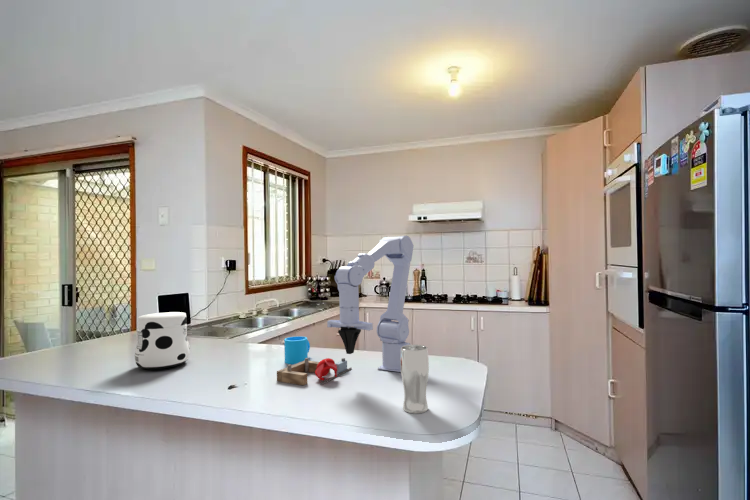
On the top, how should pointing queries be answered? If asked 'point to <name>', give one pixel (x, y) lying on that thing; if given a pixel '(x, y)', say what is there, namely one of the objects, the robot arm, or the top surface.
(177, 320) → the milk container
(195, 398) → the top surface
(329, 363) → the cap
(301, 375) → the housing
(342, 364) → the pale blue-grey box
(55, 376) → the top surface
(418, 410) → the beer glass
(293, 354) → the mug
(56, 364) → the top surface
